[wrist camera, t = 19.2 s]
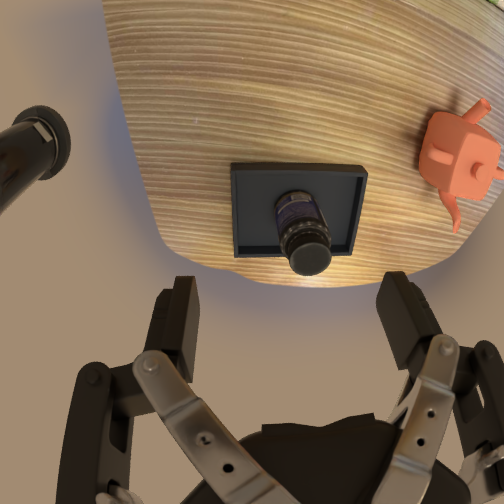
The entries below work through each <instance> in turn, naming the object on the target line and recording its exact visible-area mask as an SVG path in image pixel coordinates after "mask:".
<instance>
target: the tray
mask: <svg viewBox="0 0 504 504" xmlns="http://www.w3.org/2000/svg"><path fill="white" fill-rule="evenodd" d="M367 177H368V172H367V171H366V170H365V169H364V168H363V167H362V166H360V165H343V164H320V163H231V195H232V219H233V242H234V258H238V257H239V258H247V257H285V256H284V255H283V253H282V252H281V249H280V244H279V238H278V233H277V227H276V222H275V217H274V207H275V204H276V202H277V201H278V199H279V198H280V197H281V196H282V195H284V194H286V193H288V192H290V191H305V192H307V193H309V194H311V195H312V196H313V197H314V198H315V199H316V201H317V203H318V205H319V207H320V210H321V212H322V214H323V217H324V219H325V221H326V224H327V226H328V229H329V231H330V234H331V246H330V251H331V255H332V256H351V255H352V251H353V247H354V242H355V238H356V233H357V229H358V224H359V219H360V214H361V209H362V204H363V199H364V194H365V189H366V183H367Z"/></svg>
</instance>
